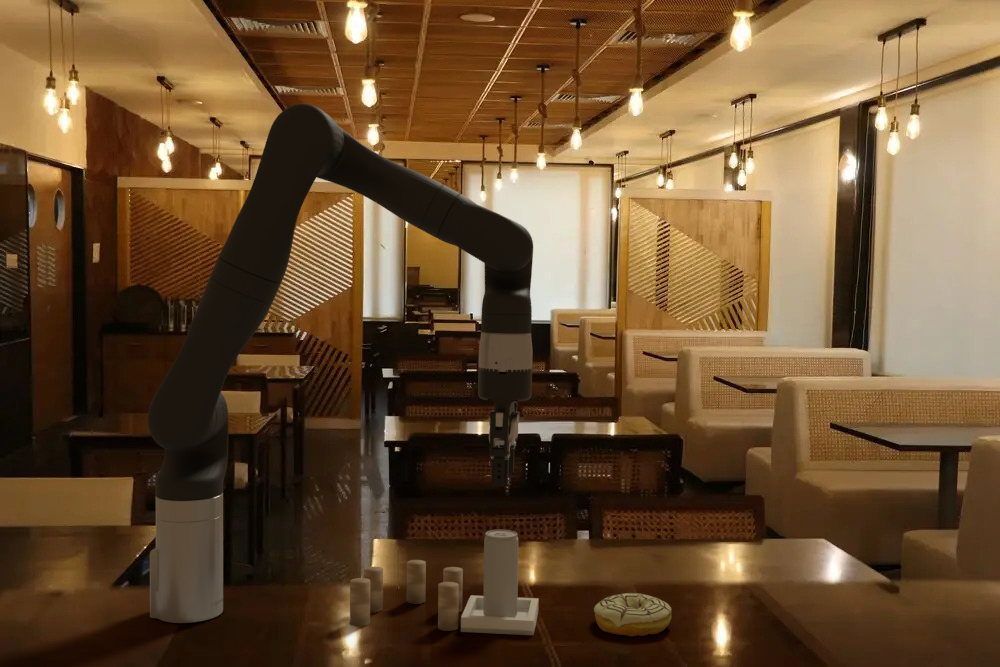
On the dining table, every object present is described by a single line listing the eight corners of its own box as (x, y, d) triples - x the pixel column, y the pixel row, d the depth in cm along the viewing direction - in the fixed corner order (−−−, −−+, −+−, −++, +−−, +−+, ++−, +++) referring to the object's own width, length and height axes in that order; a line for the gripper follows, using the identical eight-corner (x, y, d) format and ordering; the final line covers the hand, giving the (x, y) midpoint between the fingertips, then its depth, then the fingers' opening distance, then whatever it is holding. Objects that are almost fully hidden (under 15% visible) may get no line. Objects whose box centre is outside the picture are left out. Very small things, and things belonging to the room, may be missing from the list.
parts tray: (460, 631, 140) (461, 617, 139) (470, 608, 149) (470, 595, 149) (533, 635, 138) (533, 620, 138) (538, 611, 148) (538, 598, 148)
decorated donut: (580, 620, 146) (581, 594, 146) (644, 611, 150) (645, 586, 150) (617, 643, 136) (618, 616, 136) (685, 633, 140) (685, 606, 140)
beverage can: (513, 624, 141) (514, 538, 141) (479, 621, 142) (480, 536, 142) (520, 613, 146) (521, 530, 145) (487, 610, 147) (488, 528, 146)
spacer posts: (347, 625, 141) (347, 583, 141) (369, 596, 154) (370, 557, 154) (456, 631, 140) (457, 588, 139) (469, 601, 153) (469, 562, 153)
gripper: (484, 360, 150) (482, 469, 150) (472, 368, 135) (469, 489, 136) (535, 362, 149) (533, 472, 150) (528, 370, 135) (525, 491, 136)
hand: (502, 480), depth 143 cm, fingers open, 8 cm apart
